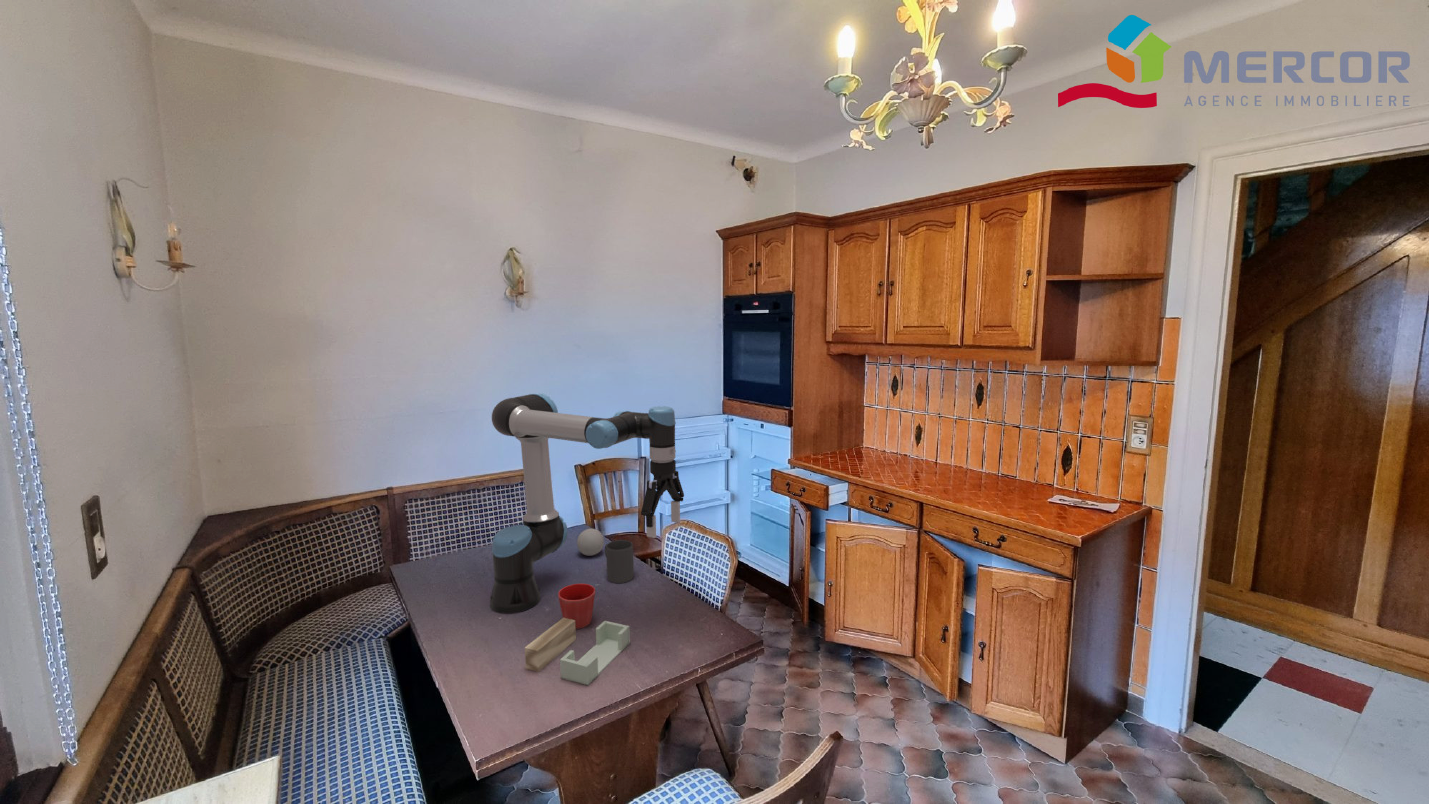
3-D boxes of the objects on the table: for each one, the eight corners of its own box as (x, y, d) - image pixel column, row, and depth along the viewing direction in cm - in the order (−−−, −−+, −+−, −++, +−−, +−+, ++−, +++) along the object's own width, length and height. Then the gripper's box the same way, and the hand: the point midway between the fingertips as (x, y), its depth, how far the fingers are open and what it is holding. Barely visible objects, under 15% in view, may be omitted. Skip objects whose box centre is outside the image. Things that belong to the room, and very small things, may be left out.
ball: (609, 551, 221) (608, 527, 220) (594, 561, 212) (592, 536, 211) (588, 547, 225) (587, 523, 224) (572, 557, 216) (570, 532, 215)
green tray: (560, 678, 144) (560, 659, 143) (605, 637, 162) (604, 620, 161) (587, 685, 141) (587, 666, 140) (629, 643, 159) (629, 626, 158)
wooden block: (526, 669, 148) (524, 647, 147) (564, 637, 162) (563, 617, 162) (538, 672, 146) (537, 650, 145) (576, 640, 161) (575, 620, 160)
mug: (639, 577, 199) (638, 544, 197) (616, 586, 193) (615, 552, 191) (617, 565, 209) (616, 534, 207) (595, 573, 203) (593, 541, 201)
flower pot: (603, 616, 173) (602, 585, 172) (583, 634, 163) (582, 602, 162) (573, 610, 177) (571, 580, 176) (552, 628, 167) (550, 597, 165)
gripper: (650, 471, 155) (651, 546, 158) (694, 452, 177) (695, 518, 180) (627, 468, 159) (629, 541, 162) (673, 449, 181) (674, 514, 184)
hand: (664, 529), depth 171 cm, fingers open, 13 cm apart
